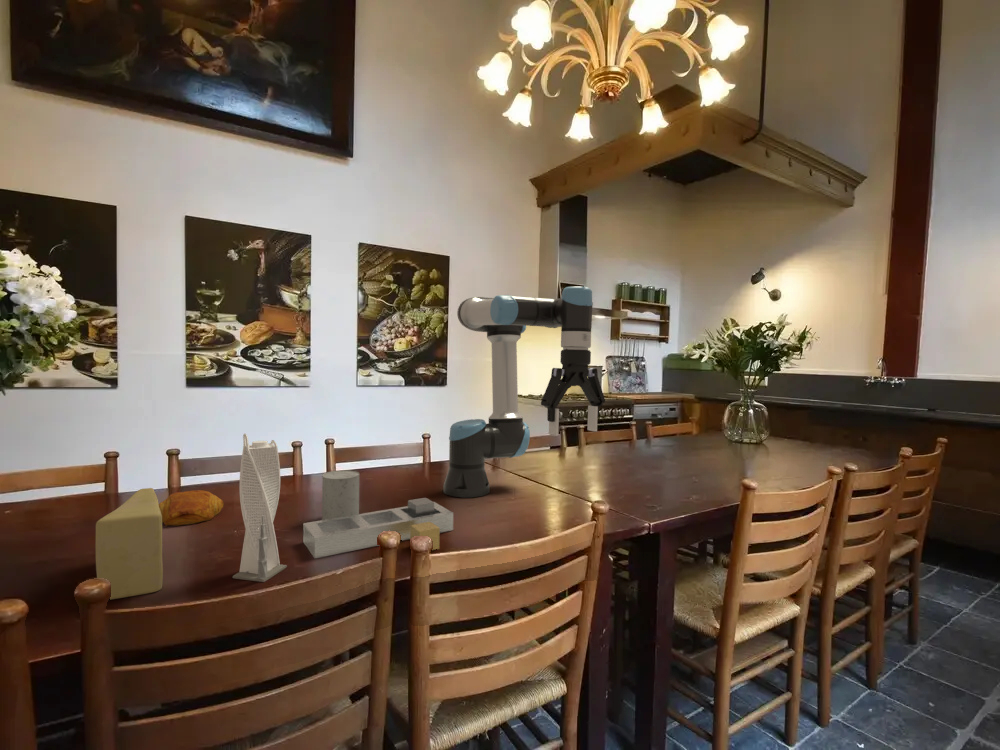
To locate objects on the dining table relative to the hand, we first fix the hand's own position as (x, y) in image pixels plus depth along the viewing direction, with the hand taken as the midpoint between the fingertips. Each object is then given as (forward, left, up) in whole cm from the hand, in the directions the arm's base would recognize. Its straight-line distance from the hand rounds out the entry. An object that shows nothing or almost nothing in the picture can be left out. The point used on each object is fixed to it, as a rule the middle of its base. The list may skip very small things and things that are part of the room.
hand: (573, 432), depth 125 cm
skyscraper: (-16, -70, -26) cm, 76 cm away
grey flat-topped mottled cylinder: (-39, -47, -26) cm, 66 cm away
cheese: (-27, -90, -26) cm, 98 cm away
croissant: (-61, -81, -26) cm, 105 cm away
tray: (-22, -42, -26) cm, 54 cm away
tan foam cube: (-10, -36, -26) cm, 45 cm away
